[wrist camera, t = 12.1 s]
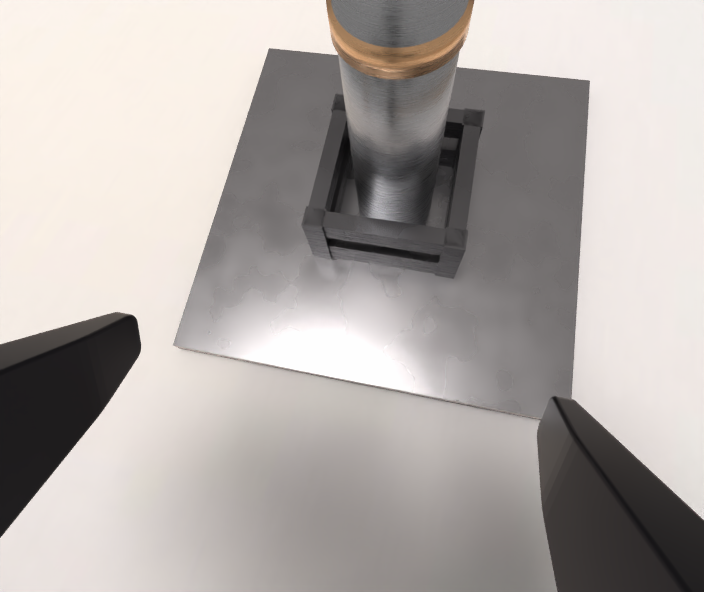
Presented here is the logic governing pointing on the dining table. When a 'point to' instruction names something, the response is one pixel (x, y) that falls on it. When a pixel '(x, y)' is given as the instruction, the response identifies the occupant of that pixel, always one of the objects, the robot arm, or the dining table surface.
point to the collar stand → (402, 245)
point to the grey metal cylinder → (397, 96)
